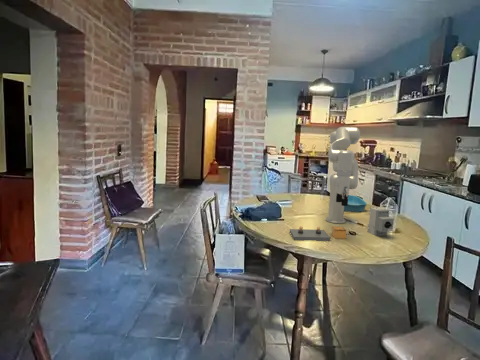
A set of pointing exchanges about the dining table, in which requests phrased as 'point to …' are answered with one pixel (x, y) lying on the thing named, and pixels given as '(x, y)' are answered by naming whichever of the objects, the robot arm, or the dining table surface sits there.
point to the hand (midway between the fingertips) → (341, 203)
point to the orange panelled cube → (339, 232)
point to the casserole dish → (355, 204)
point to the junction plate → (309, 234)
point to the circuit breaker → (379, 221)
